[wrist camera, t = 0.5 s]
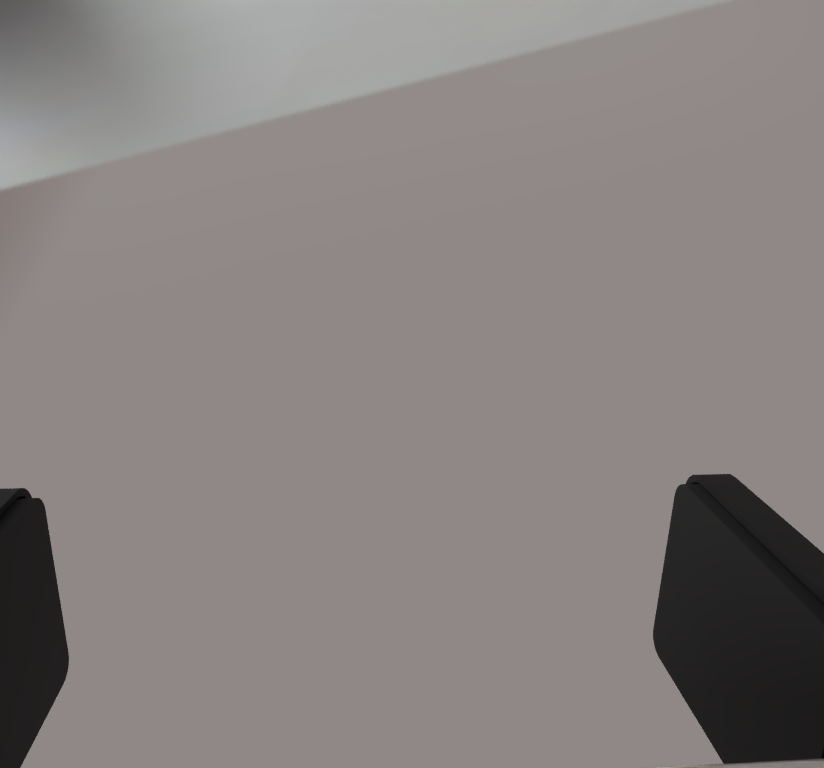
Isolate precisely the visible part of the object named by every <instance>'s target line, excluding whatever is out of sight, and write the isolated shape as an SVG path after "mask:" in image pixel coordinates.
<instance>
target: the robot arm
mask: <svg viewBox="0 0 824 768" xmlns="http://www.w3.org/2000/svg"><path fill="white" fill-rule="evenodd" d="M653 639H654V645H655V649H656V652H657V654H658V656H659V658H660V660H661V661H662V663H663V665H664V666H665V668H666V670H667V671H668V673H669V675H670V676H671V678H672V679H673V681H674V683H675V684H676V686H677V688H678V689H679V691H680V693H681V694H682V696H683V697H684V699H685V701H686V702H687V704H688V706H689V707H690V709H691V711H692V712H693V714H694V716H695V717H696V719H697V720H698V722H699V724H700V725H701V727H702V729H703V730H704V732H705V733H706V735H707V737H708V739H709V740H710V742H711V743H712V745H713V747H714V748H715V750H716V752H717V753H718V755H719V757H720V758H721V760H722V762H723V763H724V764H711V765H693V766H674V767H655V768H824V553H822V552H821V551H820V550H819V549H818V548H817V547H815V546H814V545H813V544H812V543H811V542H810V541H809V540H807V539H806V538H805V537H804V536H803V535H802V534H800V533H799V532H798V531H797V530H796V529H795V528H793V527H792V526H791V525H790V524H789V523H788V522H786V521H785V520H784V519H783V518H782V517H781V516H779V515H778V514H777V513H776V512H775V511H774V510H772V509H771V508H770V507H769V506H768V505H767V504H766V503H764V502H763V501H762V500H761V499H760V498H759V497H757V496H756V495H755V494H754V493H753V492H752V491H750V490H749V489H748V488H747V487H746V486H745V485H744V484H742V483H741V482H740V481H739V480H738V479H737V478H735V477H734V476H732V475H731V474H715V475H692V476H691V477H689V479H688V480H687V482H686V484H683V485H680V486H678V488H677V490H676V493H675V497H674V504H673V510H672V516H671V523H670V529H669V535H668V542H667V547H666V554H665V561H664V567H663V573H662V579H661V585H660V591H659V598H658V604H657V610H656V617H655V623H654V630H653ZM68 663H69V656H68V648H67V641H66V636H65V630H64V623H63V617H62V611H61V604H60V598H59V593H58V586H57V579H56V573H55V567H54V561H53V555H52V549H51V542H50V537H49V530H48V524H47V518H46V511H45V507H44V504H43V502H42V500H41V499H39V498H32V497H31V495H30V493H29V492H28V491H27V490H26V489H24V488H19V489H0V768H20V767H21V765H22V763H23V761H24V759H25V757H26V755H27V753H28V751H29V750H30V748H31V746H32V744H33V742H34V740H35V738H36V736H37V734H38V732H39V730H40V728H41V726H42V724H43V722H44V720H45V718H46V717H47V715H48V713H49V711H50V709H51V707H52V705H53V703H54V701H55V699H56V697H57V695H58V693H59V691H60V689H61V687H62V685H63V684H64V681H65V678H66V675H67V671H68Z"/></svg>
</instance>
